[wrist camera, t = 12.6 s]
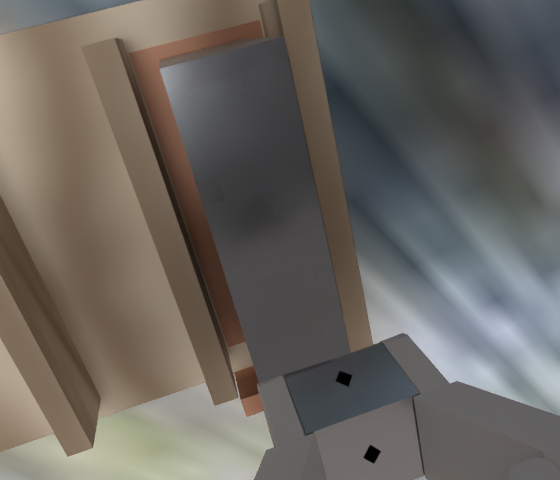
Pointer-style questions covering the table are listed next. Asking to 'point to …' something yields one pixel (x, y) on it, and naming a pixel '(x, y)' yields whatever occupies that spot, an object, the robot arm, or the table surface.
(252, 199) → the blanking panel
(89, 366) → the rack
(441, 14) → the table surface
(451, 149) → the table surface
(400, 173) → the table surface
